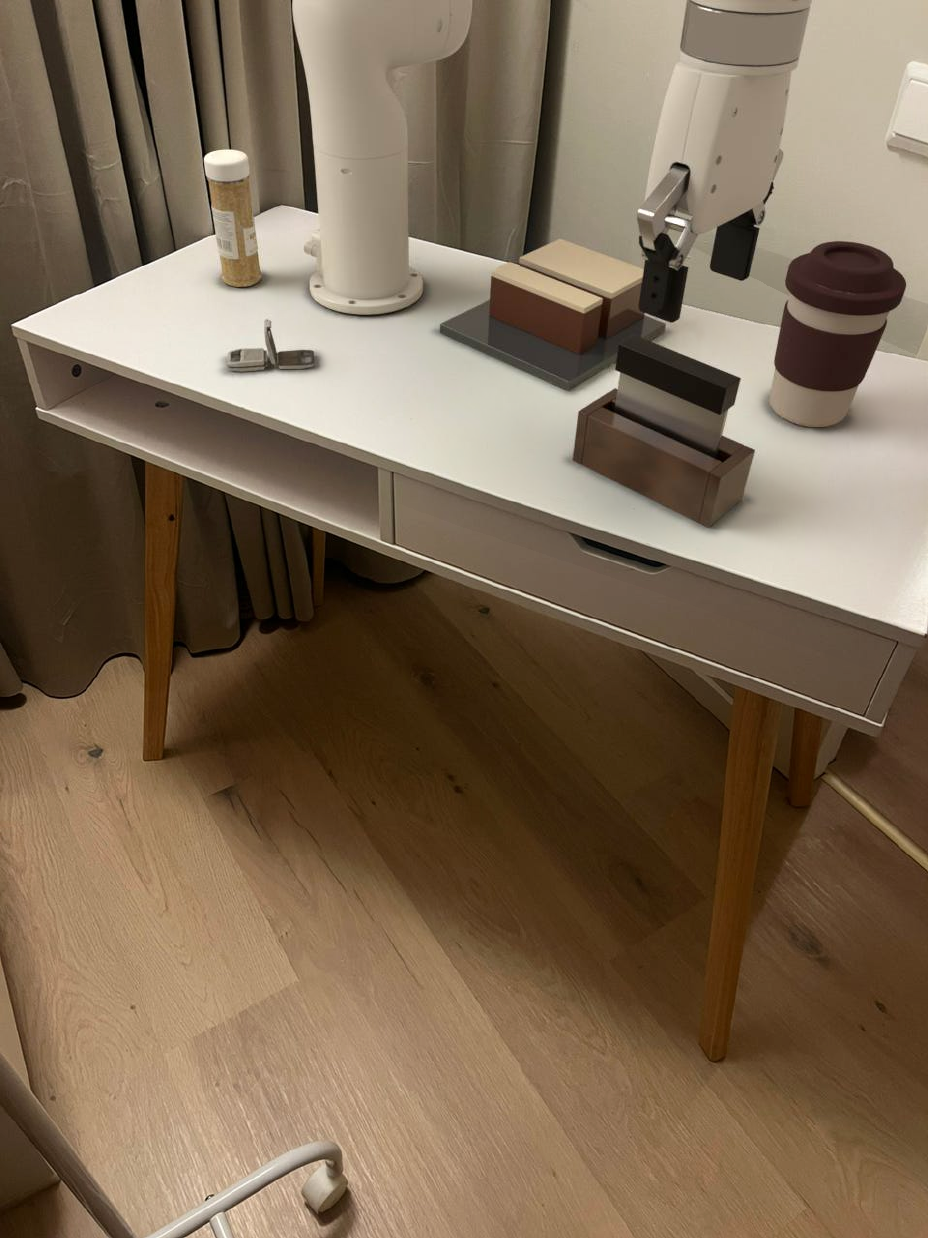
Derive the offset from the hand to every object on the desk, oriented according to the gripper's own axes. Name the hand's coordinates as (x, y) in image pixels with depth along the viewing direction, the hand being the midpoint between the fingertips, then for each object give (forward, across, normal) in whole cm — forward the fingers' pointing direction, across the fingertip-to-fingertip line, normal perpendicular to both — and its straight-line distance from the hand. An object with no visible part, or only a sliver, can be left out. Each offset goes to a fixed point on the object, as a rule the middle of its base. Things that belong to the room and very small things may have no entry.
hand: (694, 294), depth 74 cm
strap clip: (+17, +10, -40) cm, 44 cm away
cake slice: (+16, -13, -24) cm, 31 cm away
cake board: (+16, -15, -24) cm, 33 cm away
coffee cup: (+17, -20, +3) cm, 27 cm away
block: (+17, 0, -1) cm, 17 cm away
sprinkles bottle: (+16, 0, -57) cm, 59 cm away
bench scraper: (+17, 0, -1) cm, 17 cm away
